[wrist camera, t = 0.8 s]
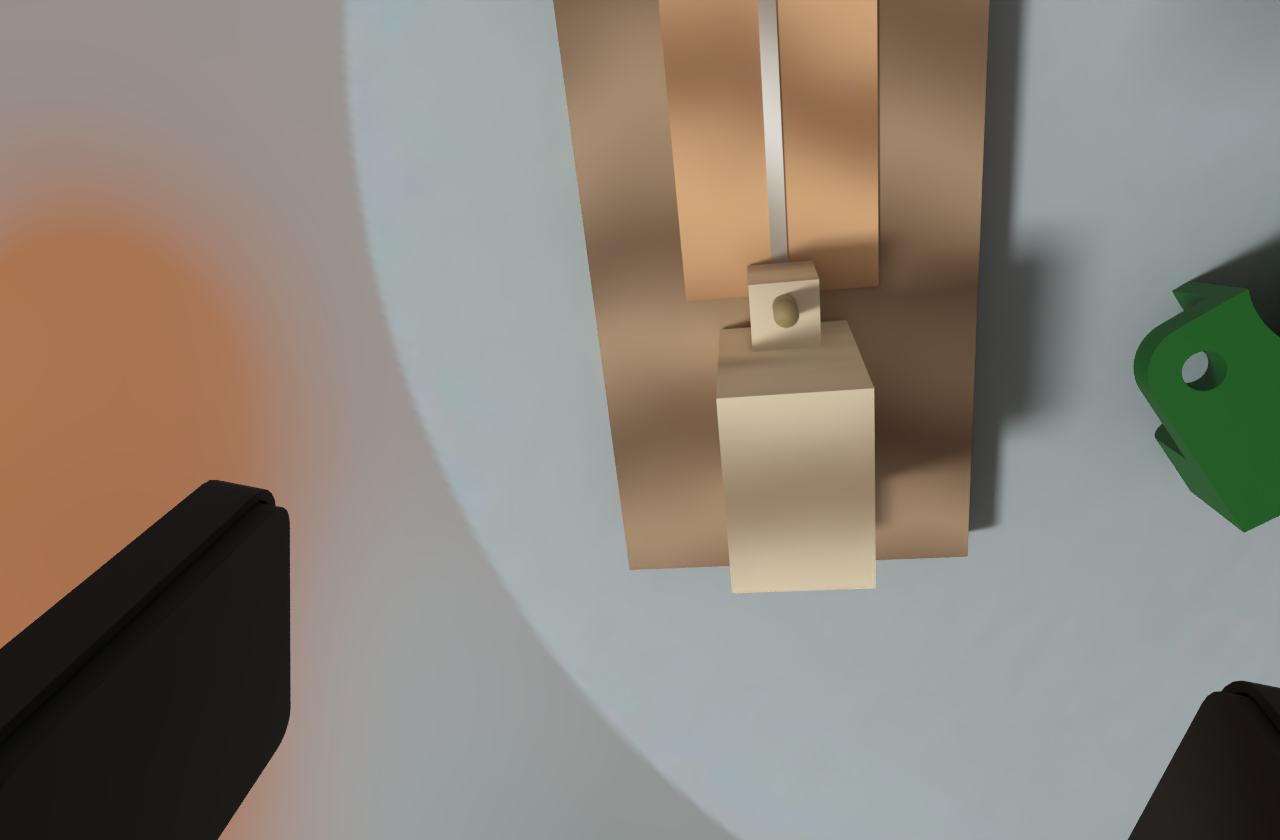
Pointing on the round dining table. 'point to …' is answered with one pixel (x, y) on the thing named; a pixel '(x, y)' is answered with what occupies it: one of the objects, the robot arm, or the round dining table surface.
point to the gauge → (795, 441)
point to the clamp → (1218, 401)
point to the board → (780, 234)
